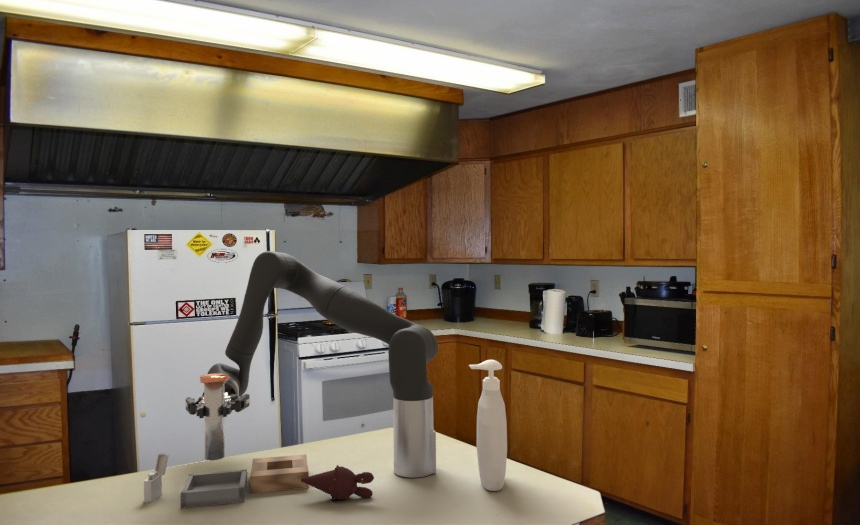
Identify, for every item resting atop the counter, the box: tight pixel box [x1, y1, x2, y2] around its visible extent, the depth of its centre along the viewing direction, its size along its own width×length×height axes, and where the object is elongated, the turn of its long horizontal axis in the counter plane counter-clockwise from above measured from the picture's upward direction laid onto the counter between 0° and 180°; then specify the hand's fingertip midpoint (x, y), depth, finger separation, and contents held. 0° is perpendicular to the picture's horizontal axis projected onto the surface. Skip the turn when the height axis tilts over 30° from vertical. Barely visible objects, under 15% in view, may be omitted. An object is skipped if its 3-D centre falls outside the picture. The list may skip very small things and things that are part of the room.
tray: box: [180, 468, 248, 509], centre depth 127 cm, size 12×11×3 cm
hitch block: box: [249, 453, 310, 494], centre depth 135 cm, size 12×12×4 cm
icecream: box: [301, 464, 375, 502], centre depth 124 cm, size 7×7×15 cm
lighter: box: [143, 453, 169, 503], centre depth 127 cm, size 7×2×8 cm, turn 176°
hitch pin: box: [199, 373, 228, 461], centre depth 127 cm, size 6×6×17 cm
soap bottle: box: [468, 359, 508, 492], centre depth 131 cm, size 14×8×27 cm, turn 0°
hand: (213, 412), depth 124 cm, fingers closed on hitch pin, 4 cm apart
